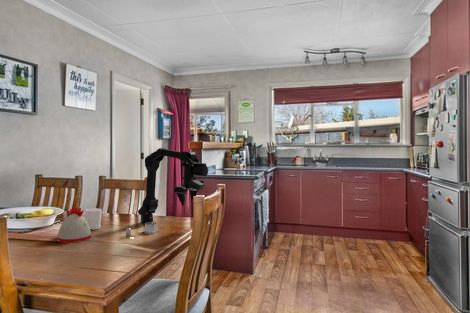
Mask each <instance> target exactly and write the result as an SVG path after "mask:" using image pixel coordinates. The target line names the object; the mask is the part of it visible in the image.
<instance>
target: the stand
mask: <svg viewBox="0 0 470 313" xmlns="http://www.w3.org/2000/svg"><path fill="white" fill-rule="evenodd" d="M149 224H153V223H149ZM160 232H161V231H160V230H157V233H153V234H150V235H151V236H153V235H154V234H158V233H160ZM140 233H141V234H145V235H146V234H147V235H149V234H148V233H145V230H144V231H141V232H140Z"/></svg>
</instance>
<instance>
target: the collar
mask: <svg viewBox="0 0 470 313" xmlns="http://www.w3.org/2000/svg"><path fill="white" fill-rule="evenodd" d="M149 223H153V224H149ZM144 231H145V233H148V234H147V235H151V234H152V235H154V234H153V233H155V234H158V233H157V231H158V222H156V221H153V222H147V223H145V224H144ZM145 233H144V234H145Z"/></svg>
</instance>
